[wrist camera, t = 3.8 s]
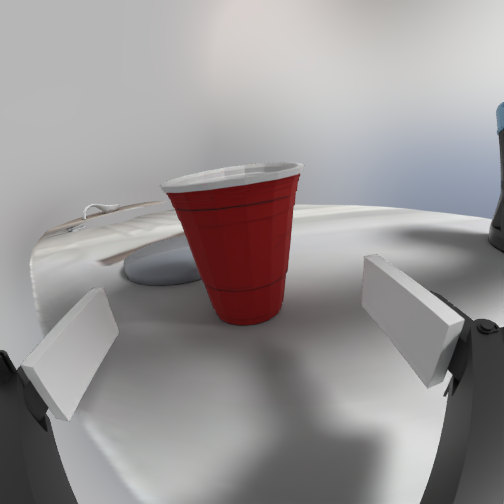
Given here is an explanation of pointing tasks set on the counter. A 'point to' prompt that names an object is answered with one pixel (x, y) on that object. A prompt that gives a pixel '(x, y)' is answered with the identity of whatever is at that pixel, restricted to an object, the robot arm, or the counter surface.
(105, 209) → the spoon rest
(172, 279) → the gray round coaster
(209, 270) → the plastic cup
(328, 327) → the counter surface
